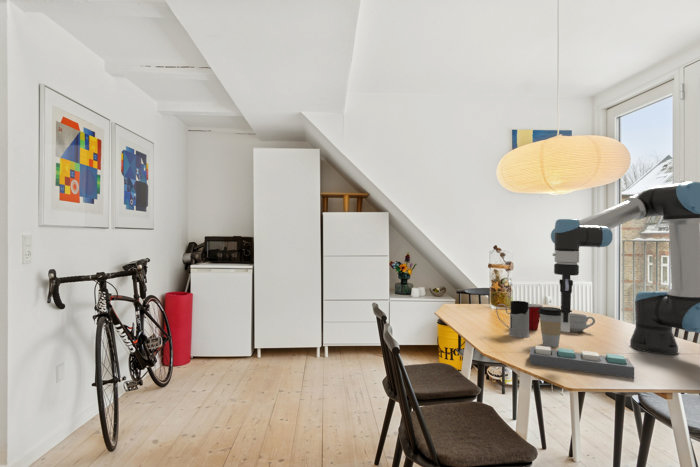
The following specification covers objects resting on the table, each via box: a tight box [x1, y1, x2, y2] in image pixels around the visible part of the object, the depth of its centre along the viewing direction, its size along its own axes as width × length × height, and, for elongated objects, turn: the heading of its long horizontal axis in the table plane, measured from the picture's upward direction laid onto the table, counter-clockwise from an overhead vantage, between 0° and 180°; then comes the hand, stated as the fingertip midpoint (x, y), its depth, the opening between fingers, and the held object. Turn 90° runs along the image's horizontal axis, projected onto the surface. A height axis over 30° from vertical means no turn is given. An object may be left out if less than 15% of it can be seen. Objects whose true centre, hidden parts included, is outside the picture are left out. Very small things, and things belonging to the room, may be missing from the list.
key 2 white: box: [581, 350, 600, 361], centre depth 133 cm, size 5×5×2 cm
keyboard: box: [529, 346, 635, 379], centre depth 135 cm, size 30×10×4 cm, turn 64°
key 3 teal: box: [557, 347, 575, 358], centre depth 137 cm, size 5×5×2 cm
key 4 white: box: [535, 344, 552, 355], centre depth 140 cm, size 5×5×2 cm
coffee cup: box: [538, 306, 562, 348], centre depth 162 cm, size 9×9×15 cm
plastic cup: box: [529, 303, 544, 331], centre depth 191 cm, size 11×11×12 cm
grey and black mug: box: [495, 300, 531, 339], centre depth 178 cm, size 9×14×15 cm, turn 75°
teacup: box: [570, 312, 596, 333], centre depth 186 cm, size 14×11×8 cm
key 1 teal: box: [605, 353, 626, 364], centre depth 130 cm, size 5×5×2 cm
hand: (565, 331), depth 137 cm, fingers closed
